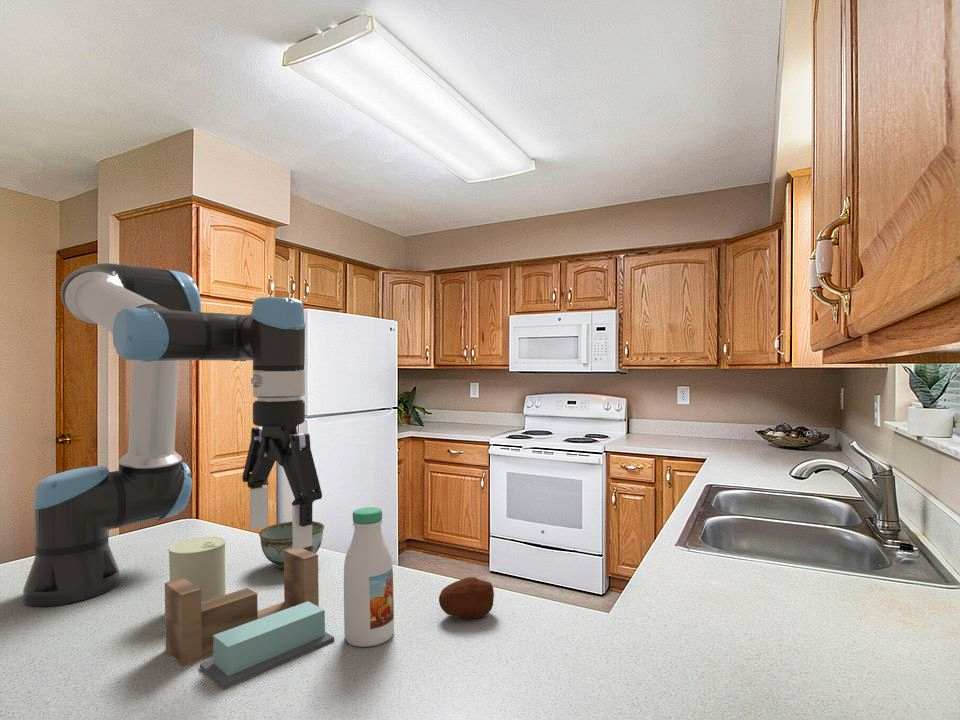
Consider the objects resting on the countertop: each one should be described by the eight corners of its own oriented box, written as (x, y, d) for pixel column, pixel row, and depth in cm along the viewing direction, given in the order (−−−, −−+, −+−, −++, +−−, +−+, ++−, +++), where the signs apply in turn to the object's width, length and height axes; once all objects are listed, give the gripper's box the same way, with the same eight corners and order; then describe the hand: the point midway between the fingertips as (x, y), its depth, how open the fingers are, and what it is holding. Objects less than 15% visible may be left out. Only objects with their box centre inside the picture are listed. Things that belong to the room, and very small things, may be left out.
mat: (199, 667, 79) (199, 663, 79) (307, 625, 91) (307, 621, 91) (223, 689, 73) (223, 684, 73) (334, 640, 86) (334, 637, 86)
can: (203, 622, 93) (202, 551, 93) (156, 618, 95) (155, 549, 95) (237, 599, 102) (236, 535, 102) (194, 596, 104) (193, 533, 104)
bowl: (313, 577, 112) (312, 538, 112) (248, 578, 112) (247, 539, 113) (332, 554, 126) (331, 519, 126) (273, 555, 126) (273, 520, 126)
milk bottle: (351, 653, 82) (349, 519, 82) (339, 632, 89) (337, 508, 89) (400, 640, 85) (398, 512, 86) (385, 620, 92) (383, 501, 92)
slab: (213, 663, 79) (213, 635, 79) (308, 625, 90) (308, 601, 90) (228, 676, 75) (227, 646, 75) (324, 635, 86) (324, 609, 86)
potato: (493, 626, 90) (492, 587, 90) (436, 626, 90) (436, 587, 90) (494, 607, 97) (493, 571, 97) (442, 607, 97) (441, 571, 97)
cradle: (165, 649, 84) (164, 582, 84) (298, 602, 100) (297, 546, 100) (182, 666, 79) (181, 595, 79) (318, 613, 95) (317, 554, 96)
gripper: (220, 396, 90) (220, 526, 90) (298, 404, 73) (298, 564, 73) (264, 394, 95) (265, 516, 95) (346, 401, 78) (346, 549, 78)
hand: (279, 537), depth 84 cm, fingers open, 13 cm apart
